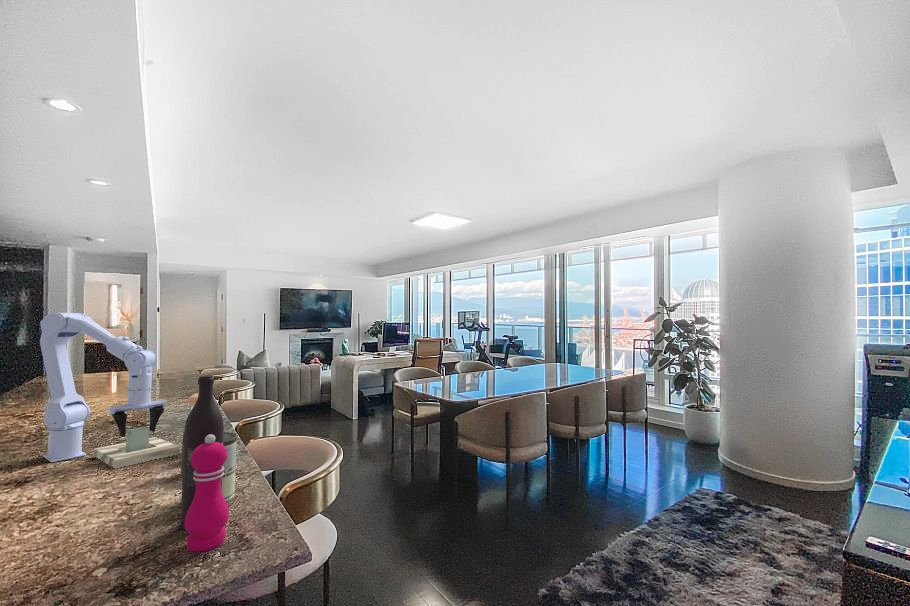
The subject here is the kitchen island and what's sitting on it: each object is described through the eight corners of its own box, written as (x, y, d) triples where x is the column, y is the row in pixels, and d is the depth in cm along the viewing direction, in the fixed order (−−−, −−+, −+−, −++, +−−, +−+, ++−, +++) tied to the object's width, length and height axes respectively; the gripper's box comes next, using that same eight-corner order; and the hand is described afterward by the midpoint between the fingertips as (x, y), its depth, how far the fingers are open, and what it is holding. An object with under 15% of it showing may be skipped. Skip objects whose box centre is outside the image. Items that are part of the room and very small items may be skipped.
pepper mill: (196, 533, 80) (200, 429, 81) (235, 532, 81) (238, 429, 82) (174, 554, 73) (179, 440, 74) (217, 552, 74) (221, 439, 75)
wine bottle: (178, 534, 80) (184, 379, 81) (182, 519, 86) (188, 375, 88) (219, 526, 83) (225, 377, 85) (221, 512, 89) (226, 373, 91)
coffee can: (179, 511, 90) (182, 445, 91) (189, 493, 99) (191, 434, 100) (233, 503, 94) (235, 440, 95) (237, 487, 103) (239, 430, 104)
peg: (125, 456, 126) (126, 429, 127) (142, 452, 130) (143, 427, 131) (130, 459, 124) (132, 432, 124) (148, 455, 128) (149, 429, 128)
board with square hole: (94, 456, 126) (94, 448, 126) (155, 444, 139) (155, 436, 139) (115, 469, 115) (115, 459, 116) (178, 454, 129) (179, 446, 129)
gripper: (115, 393, 120) (113, 441, 119) (171, 387, 132) (169, 430, 131) (107, 391, 124) (104, 437, 123) (162, 385, 136) (160, 427, 135)
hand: (137, 433), depth 127 cm, fingers open, 7 cm apart
